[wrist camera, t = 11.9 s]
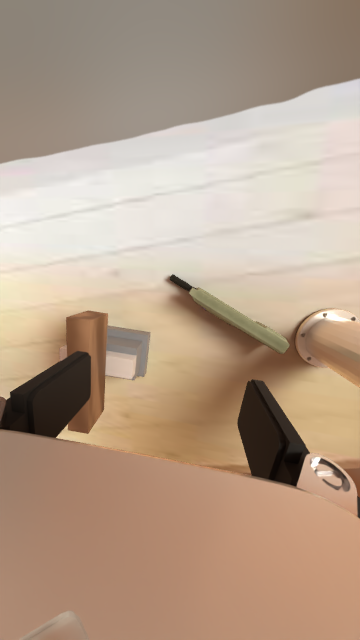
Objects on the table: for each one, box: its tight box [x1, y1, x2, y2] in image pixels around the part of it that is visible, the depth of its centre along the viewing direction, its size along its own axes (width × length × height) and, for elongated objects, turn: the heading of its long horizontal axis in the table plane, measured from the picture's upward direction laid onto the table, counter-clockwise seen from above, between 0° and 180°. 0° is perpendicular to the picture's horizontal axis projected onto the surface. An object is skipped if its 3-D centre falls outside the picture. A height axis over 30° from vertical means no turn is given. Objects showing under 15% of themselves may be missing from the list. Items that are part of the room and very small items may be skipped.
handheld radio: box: [170, 275, 289, 354], centre depth 34 cm, size 7×3×25 cm
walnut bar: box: [66, 311, 108, 434], centre depth 30 cm, size 4×20×6 cm, turn 172°
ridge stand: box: [60, 326, 150, 380], centre depth 37 cm, size 16×10×8 cm, turn 82°
